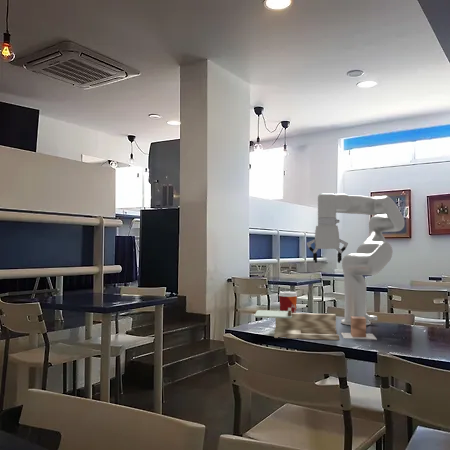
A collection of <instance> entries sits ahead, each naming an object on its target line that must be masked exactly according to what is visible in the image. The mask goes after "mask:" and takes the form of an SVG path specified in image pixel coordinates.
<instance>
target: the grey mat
mask: <svg viewBox="0 0 450 450" xmlns="http://www.w3.org/2000/svg"><path fill="white" fill-rule="evenodd" d="M340 334H341V336H342V338H343V339H346V340H347V339H349V340H350V339H351V340H353V339H354V340H375V341H377V339H378V338H377V337H376V336H375V335H374V334H373V333H366V337H352V335H351V332H341V333H340Z"/></svg>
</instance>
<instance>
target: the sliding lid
mask: <svg viewBox="0 0 450 450" xmlns="http://www.w3.org/2000/svg"><path fill="white" fill-rule="evenodd" d="M254 318H259V319H260V318H261V319H262V318H264V319H268V318H269V319H275V318H291V308H288V311H280V310H270V309H269V310H268V309H265V310H263V309H258V310H256V312H255V314H254Z"/></svg>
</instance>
